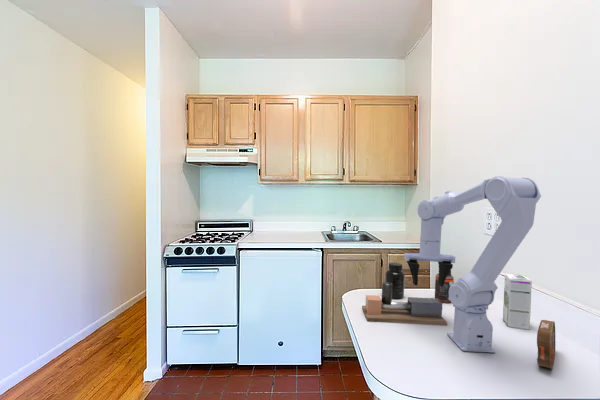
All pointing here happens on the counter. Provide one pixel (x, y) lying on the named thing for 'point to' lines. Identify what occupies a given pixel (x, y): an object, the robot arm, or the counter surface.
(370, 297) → the socket
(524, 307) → the syrup box
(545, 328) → the tin
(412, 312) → the sleeve
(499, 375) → the counter surface
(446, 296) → the supplement bottle
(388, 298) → the slide bolt
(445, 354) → the counter surface
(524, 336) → the counter surface
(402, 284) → the supplement bottle
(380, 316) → the base board
